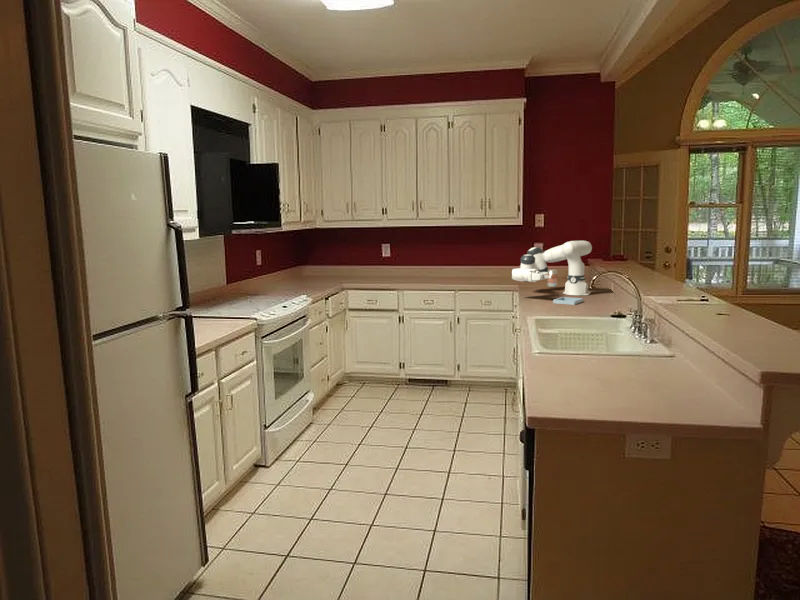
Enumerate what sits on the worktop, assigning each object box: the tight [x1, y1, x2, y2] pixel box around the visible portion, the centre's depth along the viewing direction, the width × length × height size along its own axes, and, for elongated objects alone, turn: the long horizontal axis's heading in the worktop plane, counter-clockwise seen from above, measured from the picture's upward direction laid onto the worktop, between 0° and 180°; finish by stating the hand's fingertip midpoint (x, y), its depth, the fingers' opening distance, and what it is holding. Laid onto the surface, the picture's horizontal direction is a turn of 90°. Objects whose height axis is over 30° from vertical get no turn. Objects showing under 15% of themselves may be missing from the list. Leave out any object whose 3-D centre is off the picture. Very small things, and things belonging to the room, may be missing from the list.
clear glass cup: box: [546, 269, 558, 288], centre depth 383 cm, size 6×6×11 cm
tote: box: [552, 296, 584, 306], centre depth 375 cm, size 16×14×3 cm
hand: (553, 276), depth 382 cm, fingers closed on clear glass cup, 6 cm apart
